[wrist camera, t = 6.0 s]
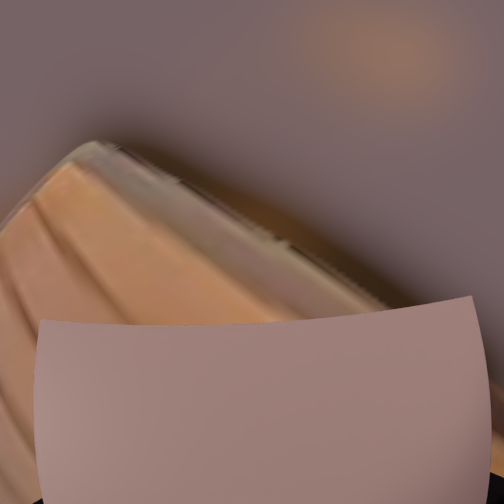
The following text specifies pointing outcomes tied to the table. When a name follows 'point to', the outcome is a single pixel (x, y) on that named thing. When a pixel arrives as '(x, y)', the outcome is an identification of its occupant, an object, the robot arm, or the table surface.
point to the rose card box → (266, 411)
